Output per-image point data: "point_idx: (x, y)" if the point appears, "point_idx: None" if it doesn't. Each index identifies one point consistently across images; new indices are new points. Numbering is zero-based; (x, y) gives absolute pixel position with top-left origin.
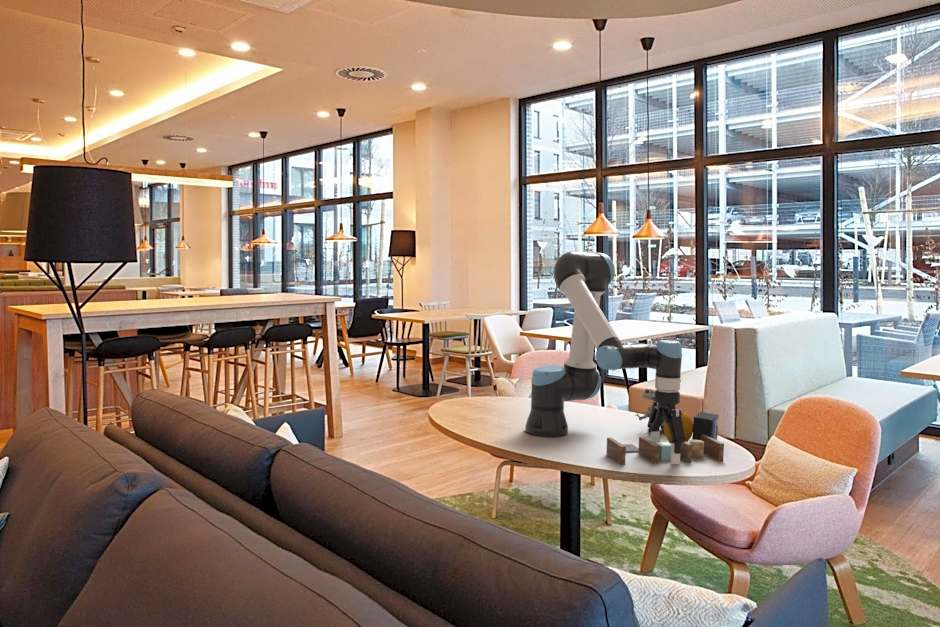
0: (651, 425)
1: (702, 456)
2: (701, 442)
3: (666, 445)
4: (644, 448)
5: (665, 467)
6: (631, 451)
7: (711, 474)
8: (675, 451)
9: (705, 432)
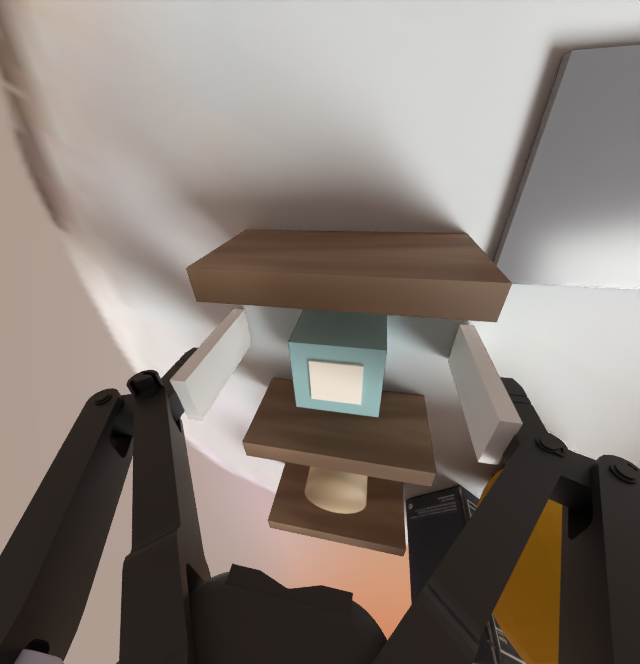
0: (552, 480)
1: None
2: (314, 499)
3: (304, 374)
4: (377, 250)
5: (186, 255)
6: (520, 194)
7: (138, 369)
8: (191, 355)
9: (426, 571)
